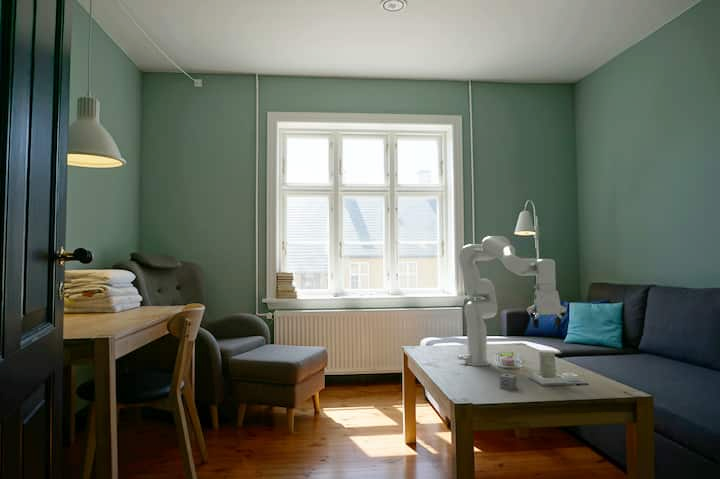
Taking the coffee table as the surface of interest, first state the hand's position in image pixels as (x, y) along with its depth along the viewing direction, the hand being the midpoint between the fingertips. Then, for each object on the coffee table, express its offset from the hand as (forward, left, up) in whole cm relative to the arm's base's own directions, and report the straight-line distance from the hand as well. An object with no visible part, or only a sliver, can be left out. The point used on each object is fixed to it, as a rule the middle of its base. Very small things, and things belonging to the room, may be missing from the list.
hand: (547, 327), depth 199 cm
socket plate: (+4, 0, -23) cm, 23 cm away
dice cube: (-20, -6, -23) cm, 32 cm away
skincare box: (0, 0, -22) cm, 22 cm away
